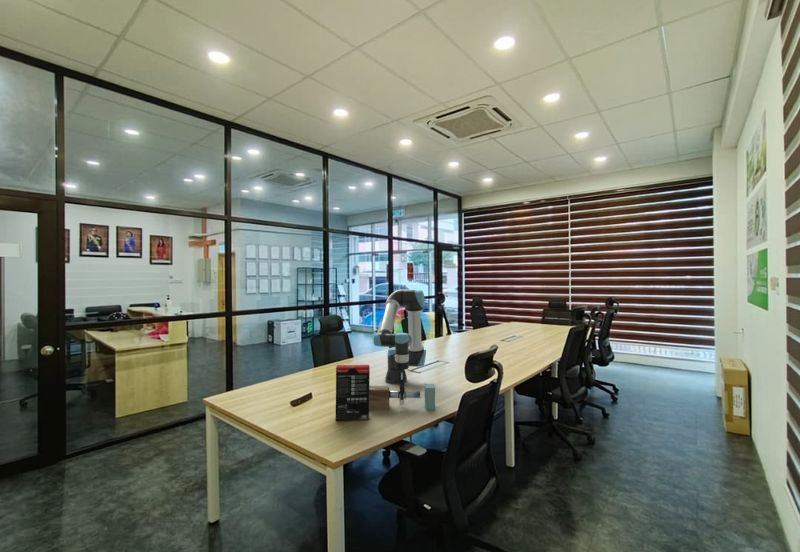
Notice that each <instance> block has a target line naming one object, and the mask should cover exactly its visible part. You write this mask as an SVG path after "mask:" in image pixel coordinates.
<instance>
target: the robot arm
mask: <svg viewBox="0 0 800 552" xmlns="http://www.w3.org/2000/svg"><path fill="white" fill-rule="evenodd" d="M425 301H426V299H425V294H424V291H423V290H422V289H416V288H414V289H397V290H395V291H393V292H391V294H390V295H389V296H388V297H387V299H386V301H385V309H384V310H385V311H384V313H383V318H382V322H381V325H380V327H379V331H378V332H377V333H374V335H373V340H372V341H373V345H374V346H375V347H382V348H383V347H385V348H387V347H388V351H387V371H386V375H385V378H384V380H385V382H386V383H388V384H395V385H396V384H397V385H398V384H399V390H400V392H398V394H399V398H398V399H399V406H405V398H404V390H406V387H405V383H407V381H408V376H407V374H406V373H407V372H406V370H408V369H409V367H415V368H416V367H417V368H419V367H421V368H422V367H424V366H425V365H426V364H425V363H426V358H427V349H425V347H424V345H423V344H422V317H421V316H422V315H421V314H422V313H421V312H422V311H423V308H425V306H426V302H425ZM400 307H401V308H405V312H407V320H408V321H407V322H408V323H407V325H408V326H407V327H408V328H407V329H408V333H406V332H398V333H393V330H394V325H395V321H396V317H397V314H398V310H399V309H400Z"/></svg>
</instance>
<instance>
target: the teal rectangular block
mask: <svg viewBox="0 0 800 552" xmlns="http://www.w3.org/2000/svg"><path fill="white" fill-rule="evenodd" d="M424 408H425V411H435V410H436V387H435V384H434V383H424Z"/></svg>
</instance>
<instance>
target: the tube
mask: <svg viewBox="0 0 800 552" xmlns="http://www.w3.org/2000/svg"><path fill="white" fill-rule="evenodd" d="M398 392H400V389H399V390H389V399H399V394H398ZM404 399H421V391H420V390H406V389H405V390H404Z"/></svg>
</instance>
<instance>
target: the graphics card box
mask: <svg viewBox="0 0 800 552" xmlns="http://www.w3.org/2000/svg"><path fill="white" fill-rule="evenodd" d="M370 371H371V370H370V365H369V364H337V365H336V367H335V422H337V421H342V422H343V421H368V420H370V419H369V418H370V410H369V386H370V376H371V374H370Z"/></svg>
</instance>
